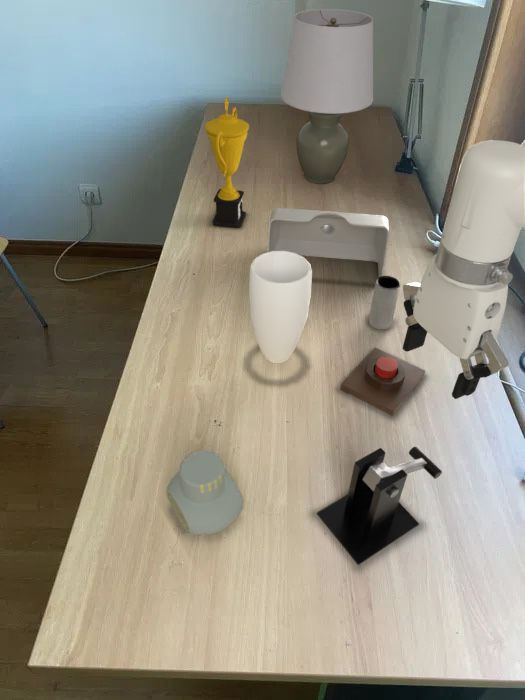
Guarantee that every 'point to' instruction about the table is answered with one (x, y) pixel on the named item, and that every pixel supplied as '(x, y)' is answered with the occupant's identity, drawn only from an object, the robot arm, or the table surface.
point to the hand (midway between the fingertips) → (436, 369)
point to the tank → (330, 234)
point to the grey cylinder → (384, 302)
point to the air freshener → (204, 494)
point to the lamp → (327, 83)
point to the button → (386, 367)
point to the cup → (279, 302)
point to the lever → (383, 471)
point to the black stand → (369, 512)
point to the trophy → (228, 165)
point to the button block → (382, 383)
